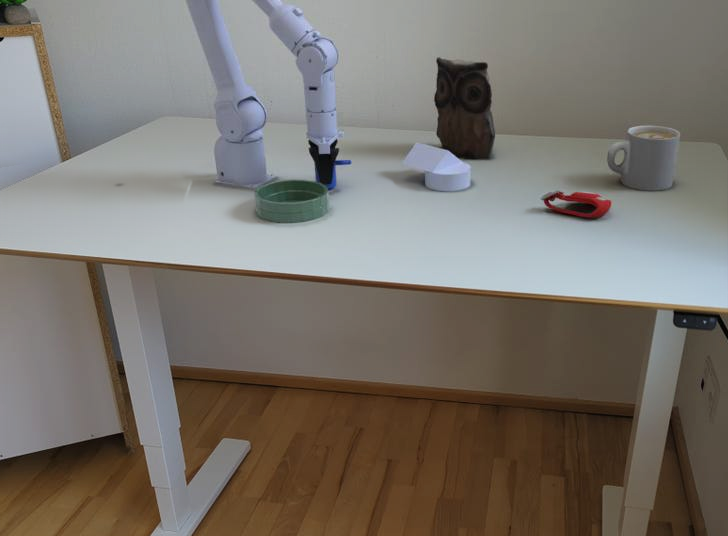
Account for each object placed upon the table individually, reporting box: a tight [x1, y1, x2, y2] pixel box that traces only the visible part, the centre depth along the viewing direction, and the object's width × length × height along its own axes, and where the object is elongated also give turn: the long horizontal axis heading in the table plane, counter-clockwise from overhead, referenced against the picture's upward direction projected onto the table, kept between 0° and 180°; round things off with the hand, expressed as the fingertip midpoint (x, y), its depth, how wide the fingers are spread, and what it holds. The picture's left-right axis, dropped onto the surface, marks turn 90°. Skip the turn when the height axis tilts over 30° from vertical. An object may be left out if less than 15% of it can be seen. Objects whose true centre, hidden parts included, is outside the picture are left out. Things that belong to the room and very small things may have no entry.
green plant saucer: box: [253, 179, 330, 224], centre depth 145 cm, size 13×13×4 cm
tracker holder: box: [540, 189, 612, 219], centre depth 144 cm, size 12×4×10 cm
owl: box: [433, 56, 496, 160], centre depth 172 cm, size 13×13×20 cm
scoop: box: [313, 159, 353, 190], centre depth 154 cm, size 7×4×5 cm, turn 98°
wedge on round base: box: [401, 141, 472, 192], centre depth 158 cm, size 9×7×13 cm
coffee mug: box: [606, 125, 681, 192], centre depth 156 cm, size 13×10×10 cm
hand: (325, 180), depth 155 cm, fingers closed on scoop, 4 cm apart
